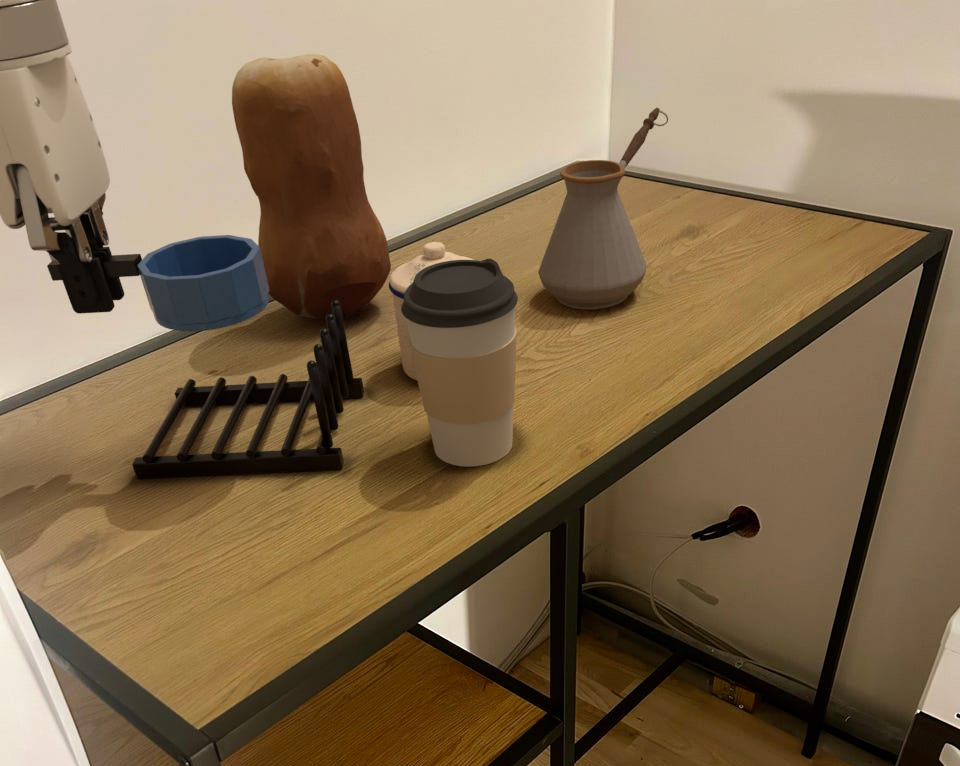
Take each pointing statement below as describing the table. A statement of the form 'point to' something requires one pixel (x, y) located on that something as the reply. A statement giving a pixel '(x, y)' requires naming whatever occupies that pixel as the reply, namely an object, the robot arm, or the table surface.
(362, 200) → the butternut squash
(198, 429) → the dish rack
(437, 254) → the teacup with lid
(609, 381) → the table surface
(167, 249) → the saucepan
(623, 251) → the coffee pot
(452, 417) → the coffee cup
